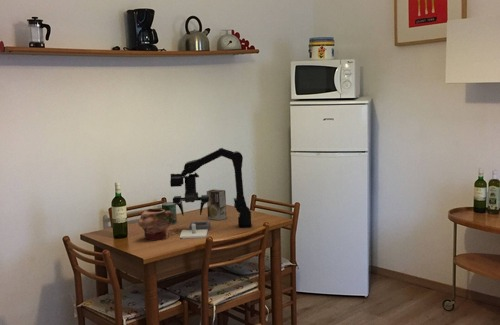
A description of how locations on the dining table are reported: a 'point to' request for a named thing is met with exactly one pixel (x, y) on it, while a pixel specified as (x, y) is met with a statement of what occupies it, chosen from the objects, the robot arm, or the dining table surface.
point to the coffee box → (216, 204)
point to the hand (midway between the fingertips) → (191, 215)
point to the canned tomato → (172, 208)
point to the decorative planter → (155, 223)
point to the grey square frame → (201, 225)
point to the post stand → (194, 233)
